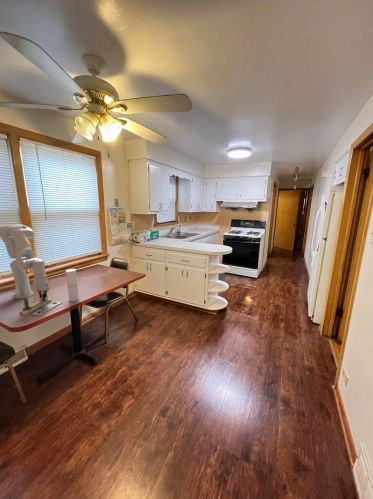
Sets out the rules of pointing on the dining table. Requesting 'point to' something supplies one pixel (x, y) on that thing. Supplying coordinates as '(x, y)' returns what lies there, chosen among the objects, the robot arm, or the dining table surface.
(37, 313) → the flange plate
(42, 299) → the slide pin
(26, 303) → the divider rail
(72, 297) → the cylindrical container
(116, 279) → the dining table surface
